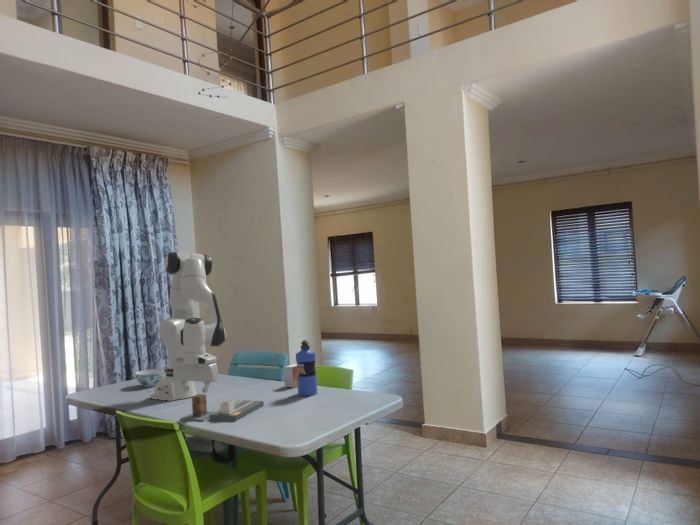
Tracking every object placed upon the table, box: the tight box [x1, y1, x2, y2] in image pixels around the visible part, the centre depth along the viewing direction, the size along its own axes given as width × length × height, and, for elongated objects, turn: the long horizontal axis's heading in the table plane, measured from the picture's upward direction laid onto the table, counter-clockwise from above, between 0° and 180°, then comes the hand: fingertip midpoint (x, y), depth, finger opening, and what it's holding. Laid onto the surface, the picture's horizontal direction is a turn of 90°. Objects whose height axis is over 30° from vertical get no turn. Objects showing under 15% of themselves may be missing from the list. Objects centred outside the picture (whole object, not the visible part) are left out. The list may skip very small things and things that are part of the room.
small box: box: [283, 363, 298, 389], centre depth 248 cm, size 8×6×10 cm
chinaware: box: [134, 368, 165, 388], centre depth 268 cm, size 15×15×8 cm
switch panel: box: [209, 399, 265, 422], centre depth 205 cm, size 12×22×3 cm, turn 161°
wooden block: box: [191, 393, 208, 417], centre depth 202 cm, size 4×4×8 cm
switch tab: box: [219, 399, 235, 414], centre depth 198 cm, size 4×4×4 cm
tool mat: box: [179, 410, 215, 422], centre depth 202 cm, size 11×11×1 cm
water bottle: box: [295, 339, 318, 397], centre depth 231 cm, size 9×9×25 cm
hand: (195, 391), depth 202 cm, fingers open, 8 cm apart
